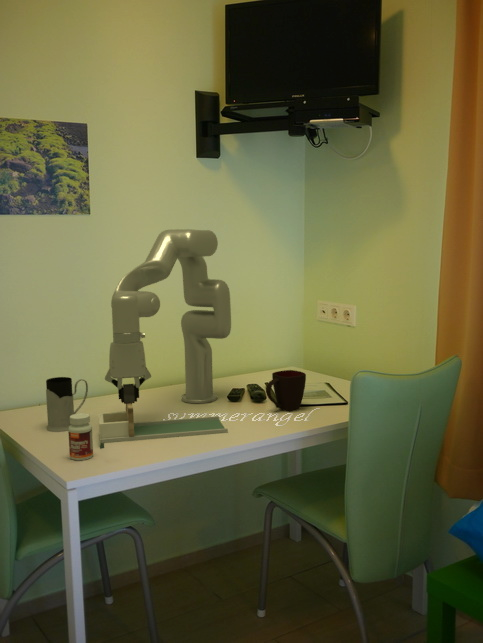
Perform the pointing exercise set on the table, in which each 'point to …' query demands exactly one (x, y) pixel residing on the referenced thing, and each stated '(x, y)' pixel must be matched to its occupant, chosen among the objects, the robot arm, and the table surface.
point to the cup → (287, 389)
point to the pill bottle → (80, 437)
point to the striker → (129, 405)
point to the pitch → (154, 428)
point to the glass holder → (61, 403)
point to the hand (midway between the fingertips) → (129, 400)
